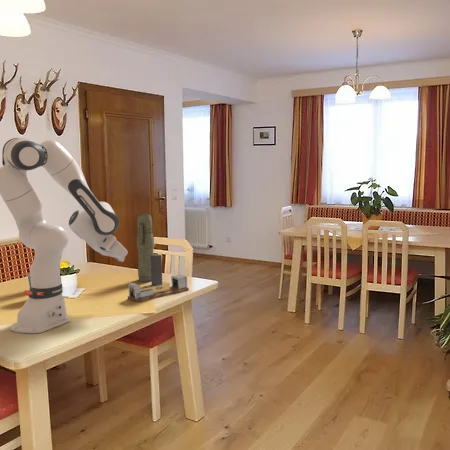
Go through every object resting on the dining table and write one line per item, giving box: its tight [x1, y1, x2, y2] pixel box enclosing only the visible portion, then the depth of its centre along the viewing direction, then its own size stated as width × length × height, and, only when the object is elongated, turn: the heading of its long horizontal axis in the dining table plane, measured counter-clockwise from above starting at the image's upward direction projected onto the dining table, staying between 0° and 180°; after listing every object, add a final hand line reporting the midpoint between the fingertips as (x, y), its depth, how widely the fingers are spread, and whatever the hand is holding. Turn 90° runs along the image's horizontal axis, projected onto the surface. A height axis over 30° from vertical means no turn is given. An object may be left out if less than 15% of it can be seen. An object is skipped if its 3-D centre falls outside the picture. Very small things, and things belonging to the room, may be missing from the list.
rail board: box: [127, 285, 190, 303], centre depth 227 cm, size 29×8×1 cm, turn 132°
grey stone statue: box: [136, 213, 155, 283], centre depth 253 cm, size 9×12×35 cm
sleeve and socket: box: [128, 273, 188, 299], centre depth 226 cm, size 29×6×7 cm, turn 132°
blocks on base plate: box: [133, 253, 171, 297], centre depth 223 cm, size 18×4×18 cm, turn 132°
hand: (122, 260), depth 211 cm, fingers closed
